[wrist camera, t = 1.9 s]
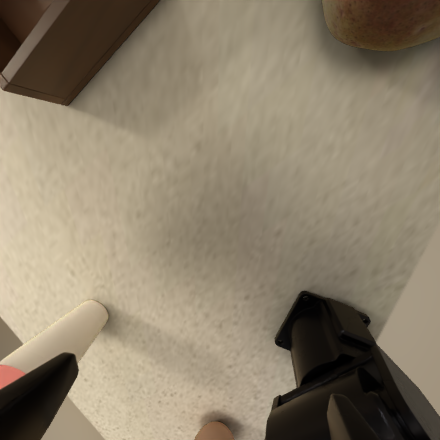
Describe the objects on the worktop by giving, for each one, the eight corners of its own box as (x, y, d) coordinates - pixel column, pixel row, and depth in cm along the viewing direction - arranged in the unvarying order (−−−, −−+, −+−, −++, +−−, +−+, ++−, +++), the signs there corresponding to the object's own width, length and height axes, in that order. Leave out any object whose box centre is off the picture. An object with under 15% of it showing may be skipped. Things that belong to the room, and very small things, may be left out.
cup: (101, 340, 27) (-14, 482, 15) (64, 311, 26) (-83, 435, 15) (125, 314, 25) (16, 451, 14) (86, 283, 24) (-61, 397, 13)
